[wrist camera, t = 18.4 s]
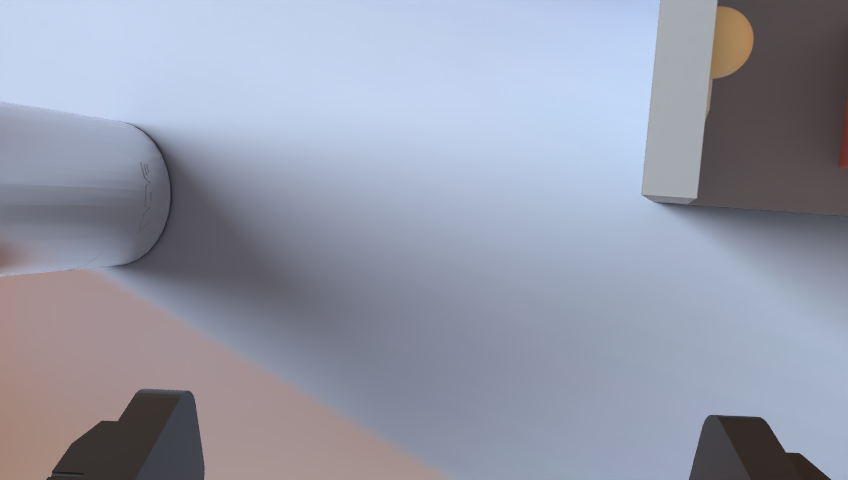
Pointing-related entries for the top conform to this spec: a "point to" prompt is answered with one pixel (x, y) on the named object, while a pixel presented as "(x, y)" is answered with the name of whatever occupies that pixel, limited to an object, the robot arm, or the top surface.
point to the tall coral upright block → (844, 141)
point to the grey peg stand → (749, 105)
